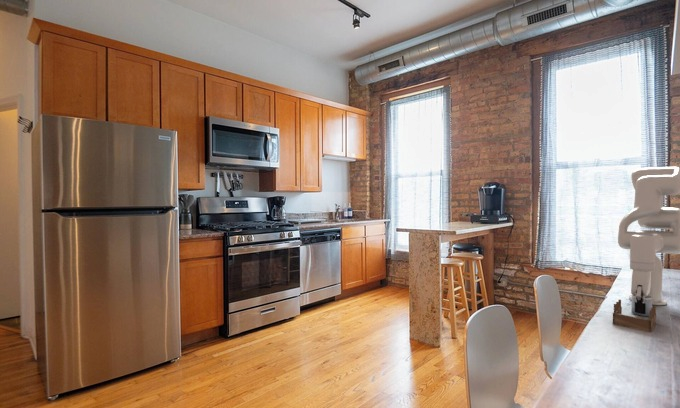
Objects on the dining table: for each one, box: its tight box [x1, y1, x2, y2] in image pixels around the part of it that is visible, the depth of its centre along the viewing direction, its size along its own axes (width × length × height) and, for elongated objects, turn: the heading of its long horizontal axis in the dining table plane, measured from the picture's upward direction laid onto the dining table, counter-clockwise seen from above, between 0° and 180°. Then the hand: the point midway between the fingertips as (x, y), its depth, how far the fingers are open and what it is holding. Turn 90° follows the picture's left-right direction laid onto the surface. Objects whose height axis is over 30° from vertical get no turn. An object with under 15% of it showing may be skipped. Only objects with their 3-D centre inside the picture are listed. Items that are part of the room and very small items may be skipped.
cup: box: [631, 294, 653, 317], centre depth 140 cm, size 6×6×7 cm
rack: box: [612, 299, 657, 333], centre depth 129 cm, size 12×11×7 cm
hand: (641, 310), depth 140 cm, fingers closed on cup, 6 cm apart
